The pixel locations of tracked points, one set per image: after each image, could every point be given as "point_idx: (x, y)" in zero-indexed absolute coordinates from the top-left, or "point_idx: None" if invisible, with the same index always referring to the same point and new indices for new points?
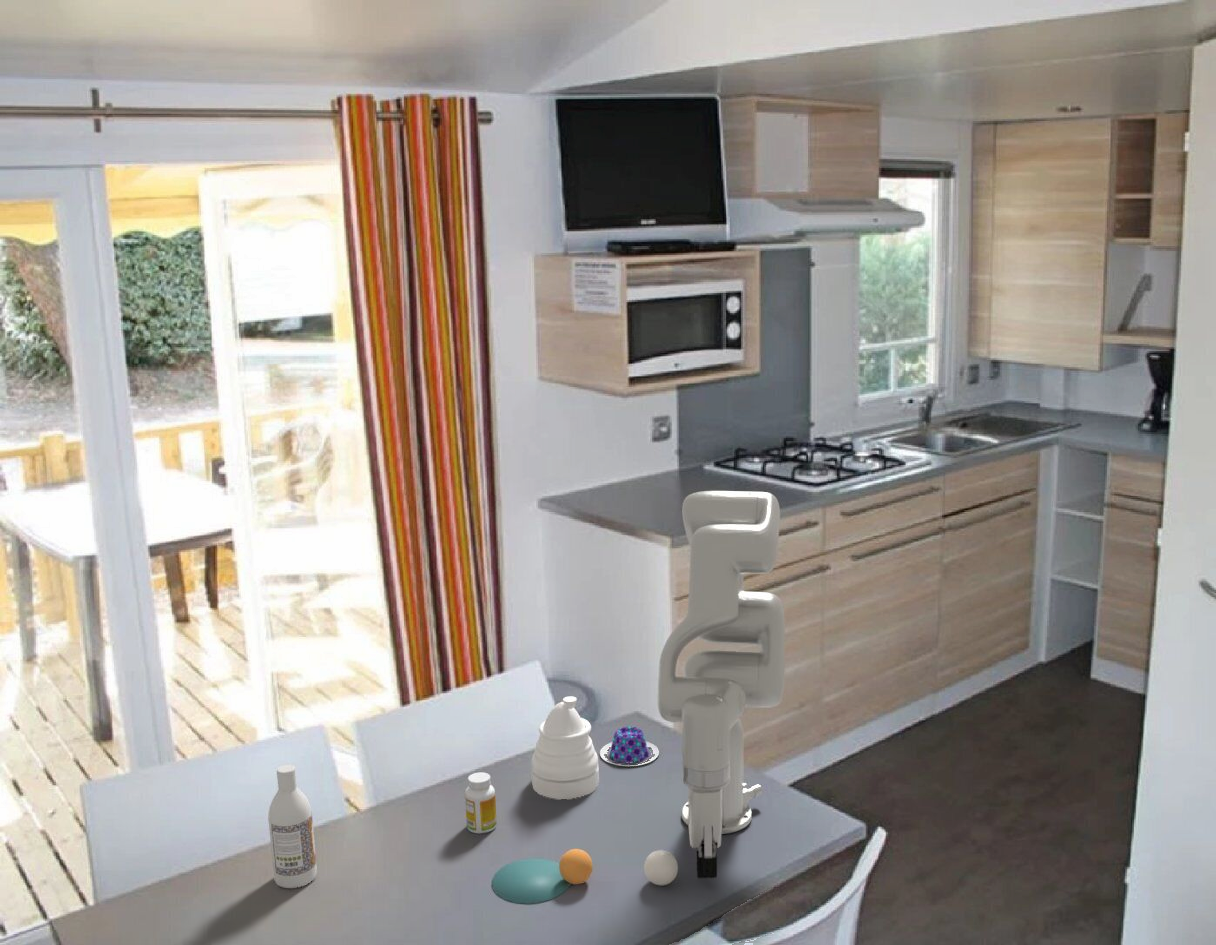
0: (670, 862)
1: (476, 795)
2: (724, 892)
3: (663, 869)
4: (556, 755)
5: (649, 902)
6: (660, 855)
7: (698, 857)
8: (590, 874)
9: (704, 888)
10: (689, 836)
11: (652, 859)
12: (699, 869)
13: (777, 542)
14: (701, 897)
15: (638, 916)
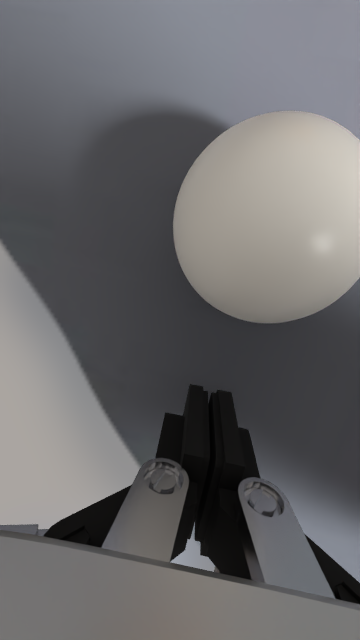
0: (210, 278)
1: None
2: (140, 437)
3: (180, 223)
4: None
5: (118, 148)
6: (260, 211)
7: (182, 453)
8: None
9: (176, 384)
10: (149, 585)
11: (258, 145)
12: (186, 411)
13: None
14: (123, 360)
15: (21, 74)
